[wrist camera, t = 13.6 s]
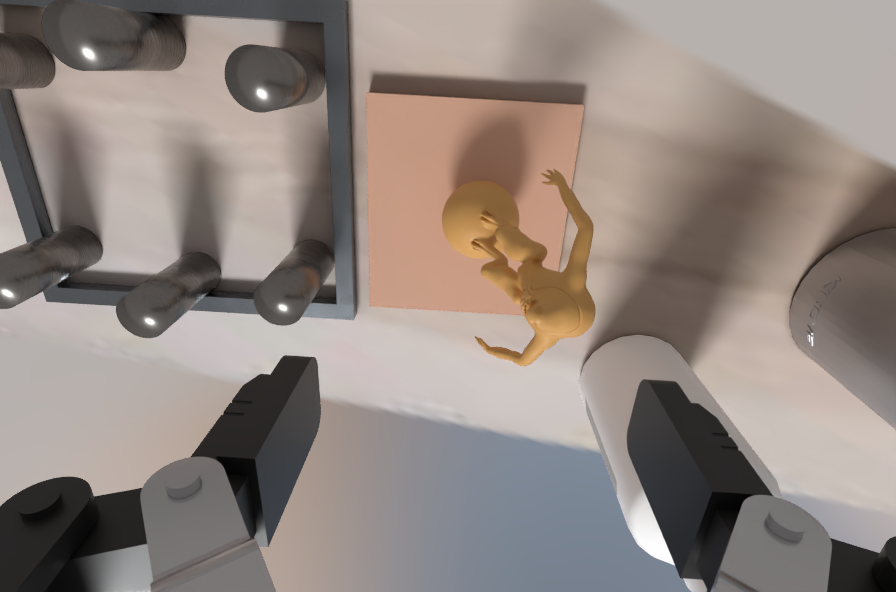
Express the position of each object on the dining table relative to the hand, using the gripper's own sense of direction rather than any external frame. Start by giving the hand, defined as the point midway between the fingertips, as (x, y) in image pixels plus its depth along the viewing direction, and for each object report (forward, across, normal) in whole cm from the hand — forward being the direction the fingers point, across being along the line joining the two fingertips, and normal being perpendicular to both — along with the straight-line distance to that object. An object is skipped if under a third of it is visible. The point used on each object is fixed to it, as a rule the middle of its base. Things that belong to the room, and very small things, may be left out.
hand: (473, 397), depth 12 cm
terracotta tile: (+17, 0, 0) cm, 17 cm away
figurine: (+17, -1, 0) cm, 17 cm away
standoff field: (+17, +16, -2) cm, 24 cm away
